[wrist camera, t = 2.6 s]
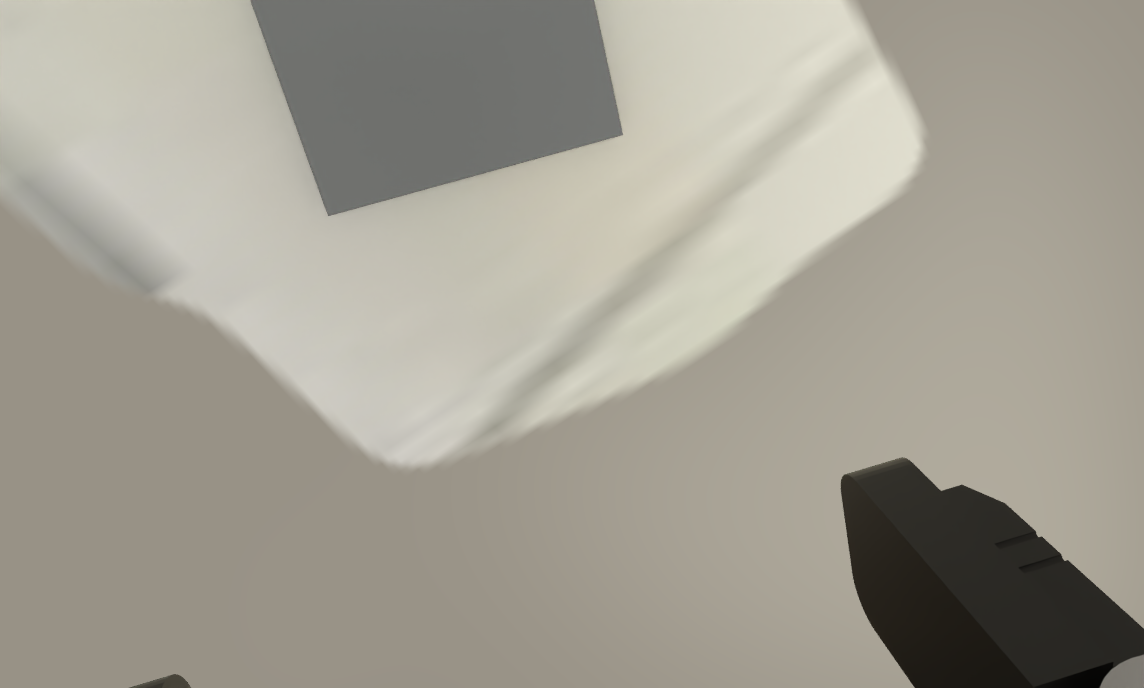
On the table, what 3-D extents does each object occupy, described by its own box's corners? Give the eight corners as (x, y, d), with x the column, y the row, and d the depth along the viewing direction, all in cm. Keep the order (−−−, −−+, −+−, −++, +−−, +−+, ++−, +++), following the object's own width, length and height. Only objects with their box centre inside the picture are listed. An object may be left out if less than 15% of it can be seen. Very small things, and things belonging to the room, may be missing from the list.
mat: (245, -27, 33) (240, -27, 32) (565, -110, 34) (570, -112, 33) (330, 209, 37) (328, 215, 36) (617, 130, 37) (622, 134, 36)
